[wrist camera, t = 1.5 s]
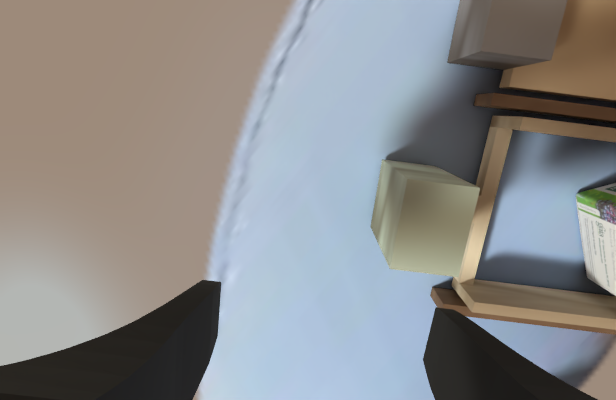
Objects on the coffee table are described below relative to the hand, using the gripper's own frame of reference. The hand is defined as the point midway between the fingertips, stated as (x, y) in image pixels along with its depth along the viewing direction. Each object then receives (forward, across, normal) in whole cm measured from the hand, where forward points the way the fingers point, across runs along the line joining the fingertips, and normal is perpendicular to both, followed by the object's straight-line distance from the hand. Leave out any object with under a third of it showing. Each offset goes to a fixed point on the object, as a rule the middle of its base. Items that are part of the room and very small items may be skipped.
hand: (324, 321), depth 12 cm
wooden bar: (+10, -14, -11) cm, 20 cm away
